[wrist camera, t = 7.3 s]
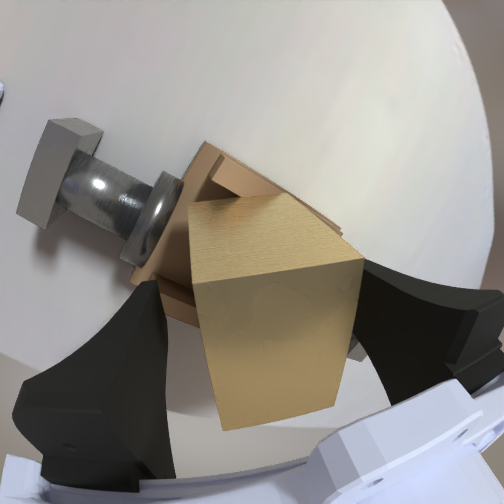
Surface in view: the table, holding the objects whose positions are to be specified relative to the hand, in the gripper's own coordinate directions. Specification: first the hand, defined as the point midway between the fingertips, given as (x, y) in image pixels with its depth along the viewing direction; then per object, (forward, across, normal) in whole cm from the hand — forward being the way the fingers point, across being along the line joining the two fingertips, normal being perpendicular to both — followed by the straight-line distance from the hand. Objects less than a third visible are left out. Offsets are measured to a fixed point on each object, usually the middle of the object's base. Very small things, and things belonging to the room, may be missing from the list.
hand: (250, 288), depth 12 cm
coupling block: (+2, 0, 0) cm, 2 cm away
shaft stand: (+4, 0, 0) cm, 4 cm away
